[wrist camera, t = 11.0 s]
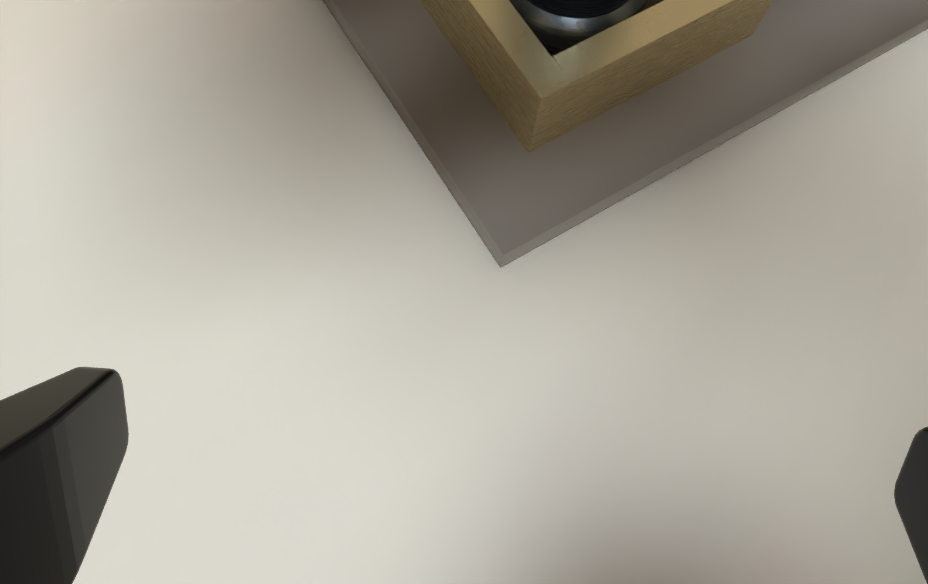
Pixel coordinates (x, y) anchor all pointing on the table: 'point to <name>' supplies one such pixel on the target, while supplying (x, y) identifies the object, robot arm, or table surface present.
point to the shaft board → (615, 132)
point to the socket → (585, 58)
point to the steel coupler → (573, 19)
